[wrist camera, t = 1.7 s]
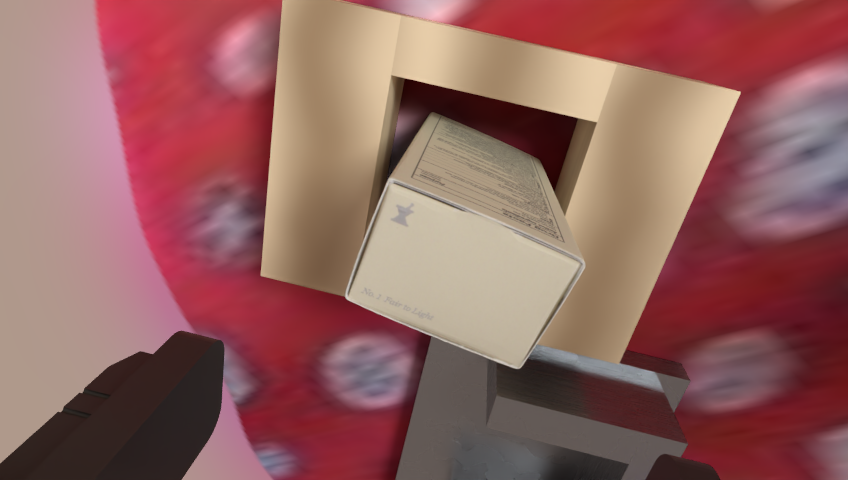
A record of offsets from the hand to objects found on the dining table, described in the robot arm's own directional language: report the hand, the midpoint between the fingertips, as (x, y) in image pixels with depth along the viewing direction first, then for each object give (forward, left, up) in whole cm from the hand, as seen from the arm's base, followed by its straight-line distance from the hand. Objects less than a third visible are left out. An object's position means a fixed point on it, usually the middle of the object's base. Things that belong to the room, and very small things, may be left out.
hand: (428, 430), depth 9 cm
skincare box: (0, 0, -18) cm, 18 cm away
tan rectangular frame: (0, 0, -18) cm, 18 cm away
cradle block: (-7, +15, -18) cm, 25 cm away
